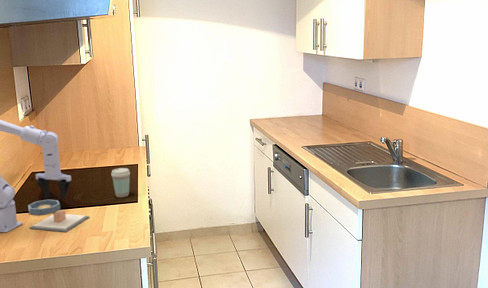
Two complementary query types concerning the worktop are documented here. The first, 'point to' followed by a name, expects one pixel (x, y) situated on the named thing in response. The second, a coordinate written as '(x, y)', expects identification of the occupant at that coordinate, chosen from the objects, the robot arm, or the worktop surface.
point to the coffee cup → (121, 181)
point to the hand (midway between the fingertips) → (55, 197)
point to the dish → (44, 207)
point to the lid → (59, 221)
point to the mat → (59, 229)
